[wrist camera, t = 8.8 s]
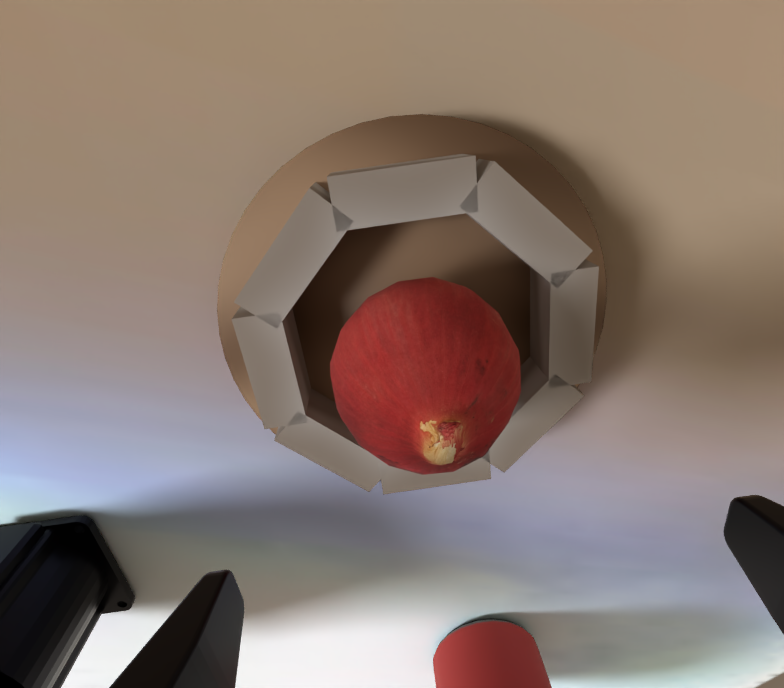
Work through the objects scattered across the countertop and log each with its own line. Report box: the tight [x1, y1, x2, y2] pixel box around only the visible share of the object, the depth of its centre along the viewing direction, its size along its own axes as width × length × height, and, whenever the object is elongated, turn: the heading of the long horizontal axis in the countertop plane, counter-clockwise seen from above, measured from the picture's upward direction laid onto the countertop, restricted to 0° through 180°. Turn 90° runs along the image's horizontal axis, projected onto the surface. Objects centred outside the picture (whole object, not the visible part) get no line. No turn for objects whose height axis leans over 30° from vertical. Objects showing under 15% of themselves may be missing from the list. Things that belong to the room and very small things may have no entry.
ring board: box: [217, 114, 606, 494], centre depth 17 cm, size 15×15×4 cm
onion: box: [330, 277, 521, 475], centre depth 14 cm, size 6×6×8 cm
